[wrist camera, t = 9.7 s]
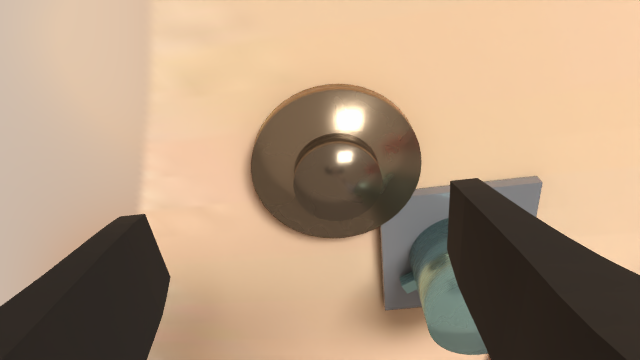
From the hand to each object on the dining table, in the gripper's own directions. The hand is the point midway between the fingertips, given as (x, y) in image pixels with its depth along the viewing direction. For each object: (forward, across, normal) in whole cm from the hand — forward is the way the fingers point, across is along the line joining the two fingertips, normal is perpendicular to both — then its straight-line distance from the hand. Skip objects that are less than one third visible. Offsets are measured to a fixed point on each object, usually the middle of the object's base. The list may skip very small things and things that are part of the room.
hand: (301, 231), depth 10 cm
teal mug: (+10, -7, +10) cm, 16 cm away
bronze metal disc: (+10, -1, +4) cm, 11 cm away
